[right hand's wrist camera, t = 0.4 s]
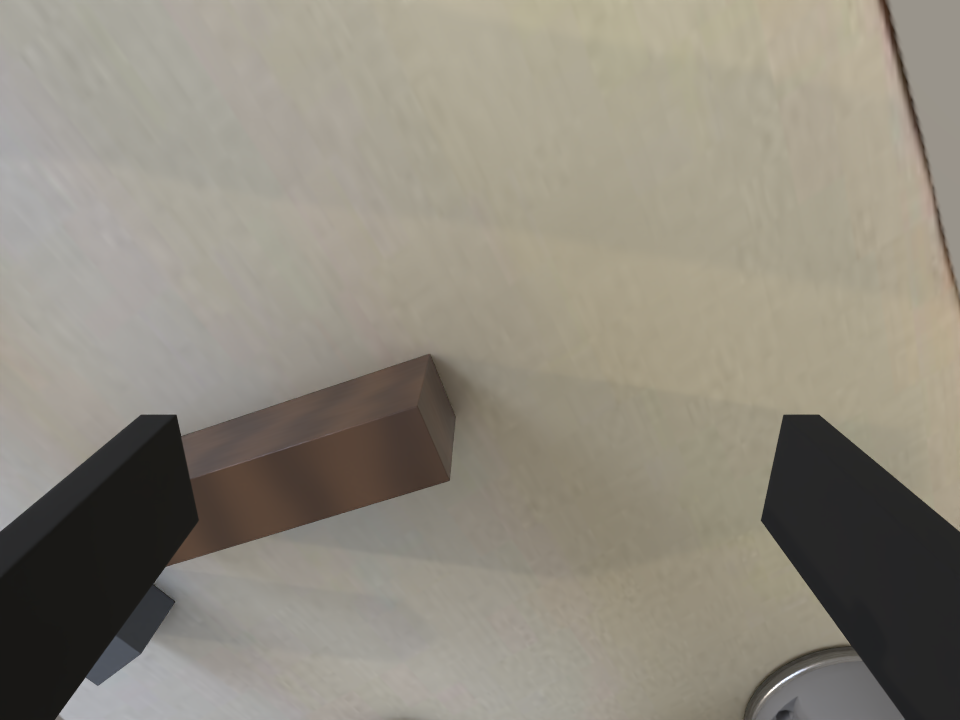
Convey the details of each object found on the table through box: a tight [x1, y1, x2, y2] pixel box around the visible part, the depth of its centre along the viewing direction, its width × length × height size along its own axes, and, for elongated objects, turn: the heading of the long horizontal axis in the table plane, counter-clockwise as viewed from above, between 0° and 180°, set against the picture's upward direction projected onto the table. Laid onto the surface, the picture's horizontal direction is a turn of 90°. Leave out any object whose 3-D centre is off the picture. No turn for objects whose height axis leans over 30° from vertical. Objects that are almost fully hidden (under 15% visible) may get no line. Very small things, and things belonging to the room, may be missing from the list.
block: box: [86, 585, 175, 686], centre depth 44 cm, size 5×5×5 cm
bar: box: [166, 354, 455, 567], centre depth 37 cm, size 26×5×8 cm, turn 109°
